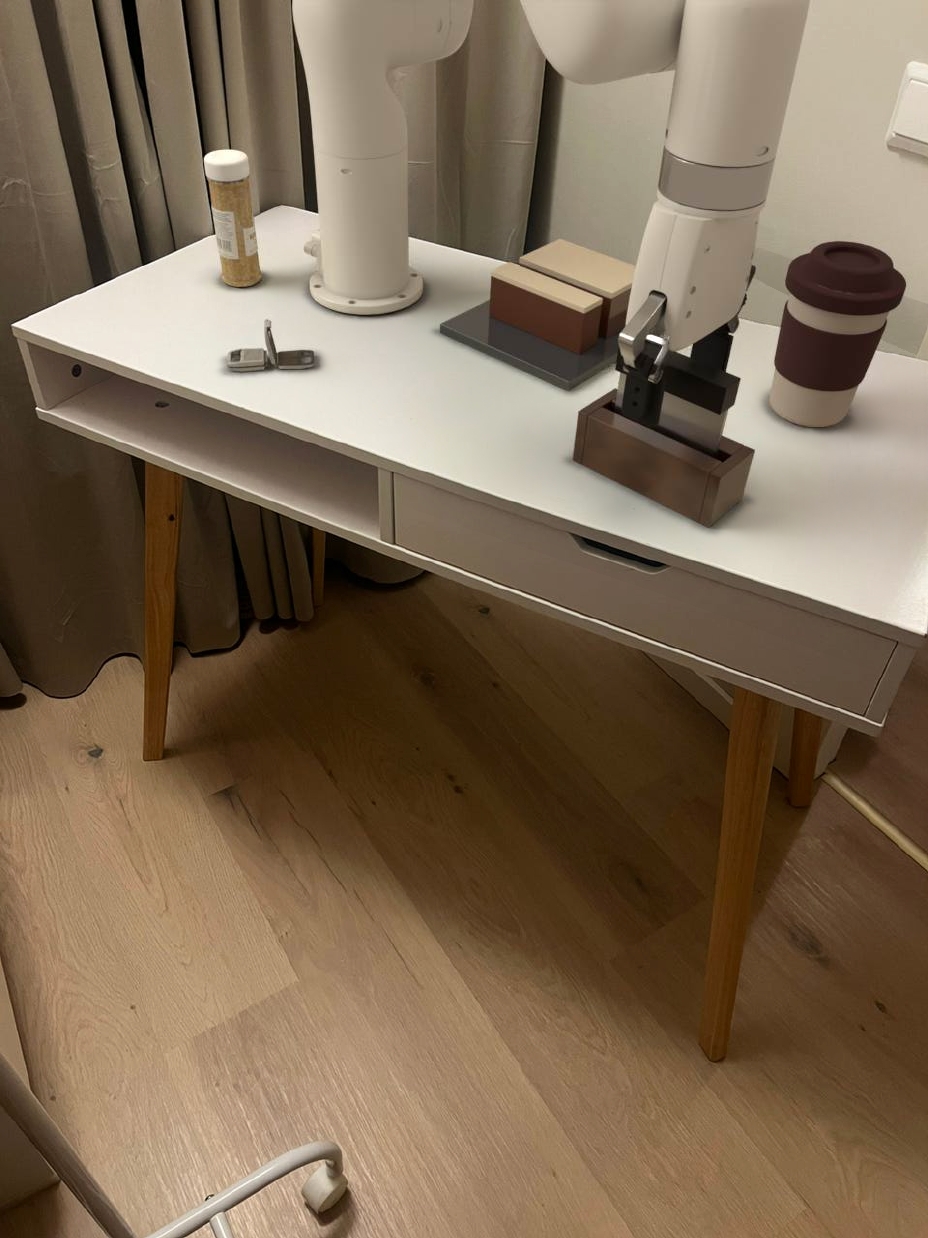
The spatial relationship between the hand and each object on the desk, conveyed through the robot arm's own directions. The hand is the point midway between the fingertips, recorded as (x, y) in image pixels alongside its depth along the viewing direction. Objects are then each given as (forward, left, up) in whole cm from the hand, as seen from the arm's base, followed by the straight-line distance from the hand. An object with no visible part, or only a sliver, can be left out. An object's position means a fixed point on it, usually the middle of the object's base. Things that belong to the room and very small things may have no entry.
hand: (673, 396), depth 80 cm
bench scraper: (0, 0, -8) cm, 8 cm away
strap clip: (-39, -10, -8) cm, 41 cm away
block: (0, 0, -8) cm, 8 cm away
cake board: (-23, +15, -8) cm, 29 cm away
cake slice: (-23, +13, -7) cm, 28 cm away
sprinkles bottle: (-56, 0, -8) cm, 57 cm away
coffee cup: (+4, +20, -8) cm, 22 cm away
